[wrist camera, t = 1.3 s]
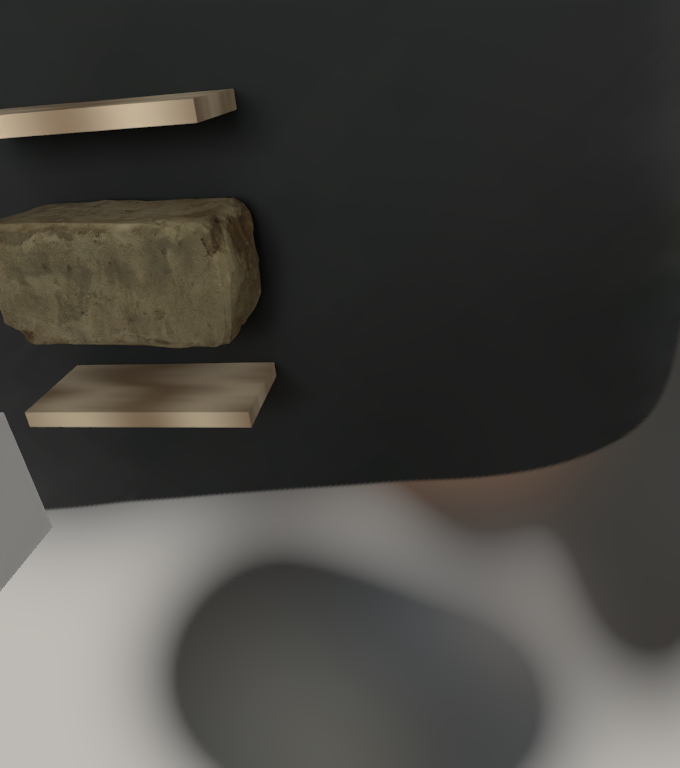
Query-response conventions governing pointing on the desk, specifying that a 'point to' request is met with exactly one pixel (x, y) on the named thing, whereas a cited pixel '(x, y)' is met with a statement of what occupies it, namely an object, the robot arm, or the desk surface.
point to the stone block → (130, 272)
